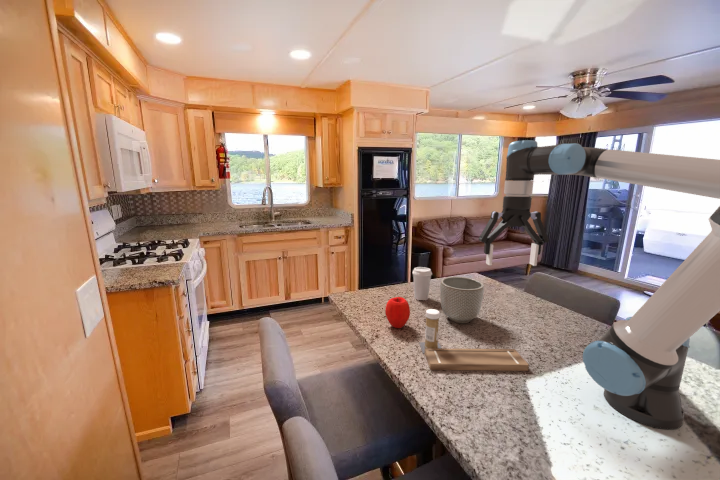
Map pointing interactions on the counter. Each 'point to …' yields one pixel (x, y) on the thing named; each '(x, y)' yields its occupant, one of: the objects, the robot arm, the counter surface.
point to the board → (475, 359)
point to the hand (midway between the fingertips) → (510, 264)
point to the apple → (397, 311)
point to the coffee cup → (421, 282)
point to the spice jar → (432, 328)
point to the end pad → (424, 346)
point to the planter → (461, 298)
